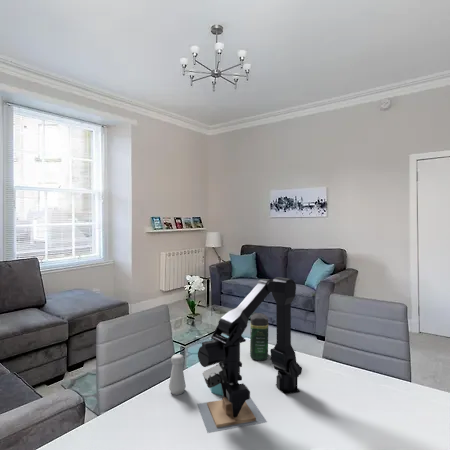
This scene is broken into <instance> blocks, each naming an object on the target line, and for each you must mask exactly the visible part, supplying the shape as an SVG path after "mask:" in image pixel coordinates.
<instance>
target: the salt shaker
mask: <svg viewBox="0 0 450 450" xmlns="http://www.w3.org/2000/svg"><path fill="white" fill-rule="evenodd" d="M184 361H185V358H184V355H183V354H180V353H177V354H176V353H175V354H173V355H172V356H171V358H170V362H171V364H172V365H171V371H170V378H169V383H168V389H169V392H170V393H171V394H172V395H175V396H176V395H177V396H179V395H182V394H183V393H184V392H185V390H186V387H187V386H186V385H187V384H186V381H185V380H186V379H185V373H184V367H183V363H184Z"/></svg>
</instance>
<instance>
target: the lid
mask: <svg viewBox="0 0 450 450" xmlns="http://www.w3.org/2000/svg"><path fill="white" fill-rule="evenodd" d="M206 402H207V406H208V408H209V411H210V413H211V415H212V418H213V420H214V423H215V425H216V427H223V426H228V425H234V424H240V423H245V422H251V421H256V417H255V416H254V414H253V413H252V411H251V410H250V408H249V406H248V405H247V403H246V402H245V403H244V404H243V406H242V408H241V410H240V412H239V414H238V416H237V417H233V413H232V406H231V402H229V401H228V399H227V397H224V396H223V397H222V399H220V401H219V400H213V402H212V401H206Z"/></svg>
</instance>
